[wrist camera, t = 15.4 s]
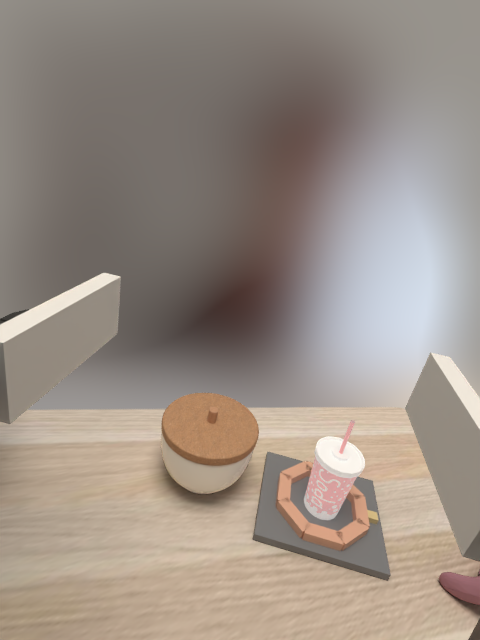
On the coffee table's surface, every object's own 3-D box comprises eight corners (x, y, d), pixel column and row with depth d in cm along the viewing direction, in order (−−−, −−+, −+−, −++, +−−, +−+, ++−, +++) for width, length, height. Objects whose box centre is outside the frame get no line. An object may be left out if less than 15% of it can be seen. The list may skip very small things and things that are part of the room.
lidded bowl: (260, 468, 55) (277, 408, 50) (214, 532, 44) (230, 463, 40) (191, 428, 59) (201, 370, 55) (135, 478, 49) (141, 411, 44)
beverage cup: (288, 495, 50) (316, 412, 44) (319, 479, 53) (349, 400, 48) (321, 533, 45) (357, 446, 40) (353, 513, 49) (389, 431, 43)
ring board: (252, 539, 44) (256, 527, 43) (266, 456, 57) (269, 445, 56) (387, 580, 43) (394, 568, 42) (370, 485, 55) (375, 474, 55)
